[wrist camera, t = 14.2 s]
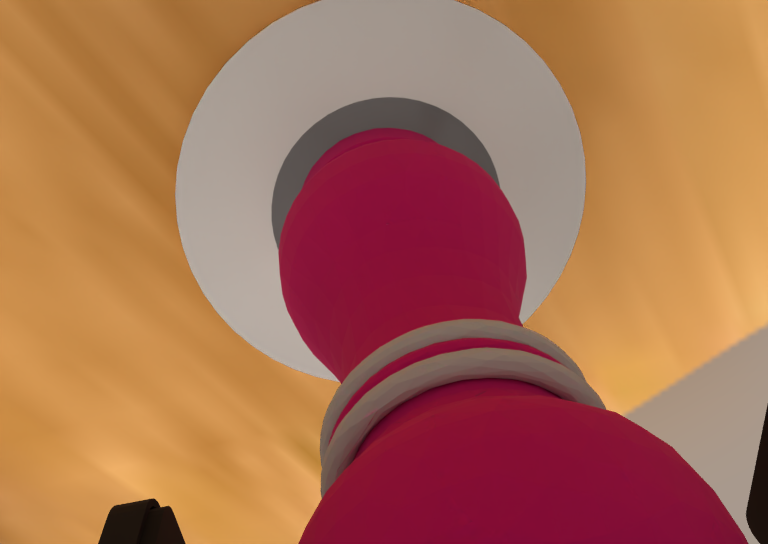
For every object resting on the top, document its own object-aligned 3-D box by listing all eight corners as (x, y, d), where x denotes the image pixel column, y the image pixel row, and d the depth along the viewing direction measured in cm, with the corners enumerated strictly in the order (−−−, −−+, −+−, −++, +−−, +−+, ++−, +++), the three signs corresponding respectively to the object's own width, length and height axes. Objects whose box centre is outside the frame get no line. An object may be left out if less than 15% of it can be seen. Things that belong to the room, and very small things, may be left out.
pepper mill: (469, 302, 24) (927, 1218, 6) (284, 300, 23) (194, 1366, 5) (495, 116, 21) (1520, 850, 3) (283, 106, 20) (76, 1046, 2)
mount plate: (128, 23, 20) (116, 25, 19) (575, -40, 21) (593, -41, 20) (233, 394, 27) (230, 415, 25) (571, 336, 27) (584, 353, 26)
